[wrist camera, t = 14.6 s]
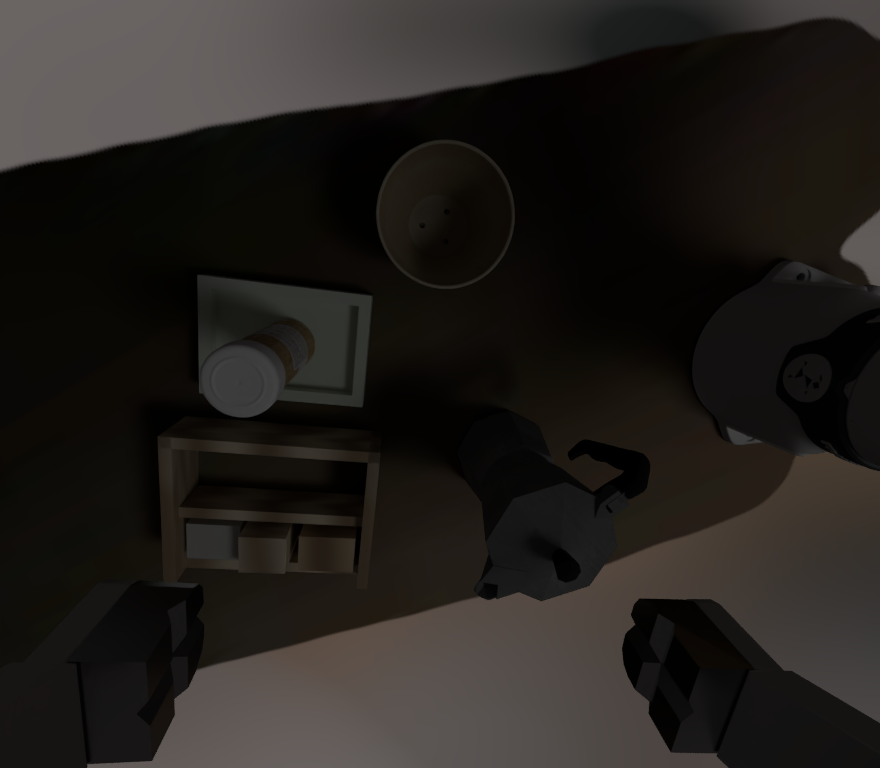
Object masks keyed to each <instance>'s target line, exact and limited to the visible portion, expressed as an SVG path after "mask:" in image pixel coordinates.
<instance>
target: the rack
mask: <svg viewBox="0 0 880 768" xmlns="http://www.w3.org/2000/svg"><path fill="white" fill-rule="evenodd" d="M381 441H382V432H381V431H368V430H356V429H343V428H331V427H319V426H306V425H294V424H281V423H269V422H256V421H244V420H232V419H219V418H207V417H194V416H185V417H184V418H183V419H181V420H180V421H178V422H177V423H176V424H174V425H173V426H171V427H170V428H169V429H167V430H166V431H164V432H163V433H162V434H160V435H159V436H158V459H159V483H160V506H161V530H162V553H163V577H164V582H175V583H176V581H177V580H178V578H179V577H180V576H181V574H182V573H183V571H184V570H185V568H212V569H238V570H239V560H218V559H194V558H187V535H186V523H187V522H188V521H189V520H190V518H203V519H223V520H242V521H261V522H280V523H300V524H319V525H338V526H358V527H362V533H361V544H360V546H356V551H355V559H354V566H353V572H329V571H300V570H298V548H299V543H296V544H295V547H294V550H293V552H292V555H291V558H290V561H289V563H288V566H287V569H286V571H291V572H318V573H344V574H358V577H357V588H356V589H367V585H368V575H369V565H370V555H371V544H372V534H373V524H374V514H375V504H376V494H377V484H378V474H379V464H380V453H381ZM198 451H209V452H223V453H237V454H251V455H265V456H279V457H293V458H307V459H321V460H336V461H350V462H364V463H368V467H367V478H366V489H365V495H356V494H339V493H323V492H307V491H290V490H274V489H258V488H242V487H225V486H209V485H199V464H198Z"/></svg>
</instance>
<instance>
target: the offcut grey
mask: <svg viewBox="0 0 880 768" xmlns="http://www.w3.org/2000/svg"><path fill="white" fill-rule="evenodd" d="M247 522H248V521H242V520H223V519H203V518H190V520H189V521H188V522H187V523H186V535H187V558H194V559H218V560H239V555H238V537H239V535H240V534H241V532H242V530H243V528H244V527H245V525H246V523H247Z"/></svg>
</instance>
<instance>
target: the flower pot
mask: <svg viewBox="0 0 880 768" xmlns="http://www.w3.org/2000/svg"><path fill="white" fill-rule="evenodd" d="M445 210H447V212H446V213H445V212H444V211H445ZM514 221H515V207H514V200H513V196H512V192H511V189H510V186H509V184H508V181H507V179H506V177H505V176H504V174H503V172H502V171H501V169H500V168H499V167H498V165H497V164H496V163H495V162H494V161H493V160H492V159H491V158H490V157H489V156H488V155H486V154H485V153H484V152H482V151H481V150H479V149H478V148H476V147H474V146H472V145H469V144H467V143H464V142H460V141H455V140H435V141H430V142H426V143H423V144H421V145H419V146H416V147H414V148H412V149H411V150H409V151H408V152H406V153H405V154H404V155H403V156H401V157H400V158H399V159H398V160H397V161H396V162H395V163H394V164H393V166H392V167H391V168H390V170H389V171H388V173H387V174H386V176H385V178H384V180H383V182H382V185H381V188H380V191H379V194H378V199H377V205H376V223H377V229H378V233H379V237H380V240H381V243H382V245H383V247H384V249H385V251H386V253H387V255H388V256H389V258H390V259H391V261H392V262H393V263H394V264H395V266H396V267H397V268H398V269H399V270H400V271H401V272H402V273H404V274H405V275H406V276H408V277H409V278H411V279H412V280H414V281H416V282H418V283H420V284H422V285H425V286H428V287H433V288H439V289H453V288H459V287H463V286H467V285H469V284H472V283H474V282H476V281H478V280H480V279H481V278H483V277H484V276H486V275H487V274H488V273H489V272H490V271H491V270H492V269H494V268H495V267H496V265H497V264H498V263H499V262H500V260H501V259H502V257H503V256H504V254H505V252H506V250H507V248H508V246H509V243H510V241H511V238H512V234H513V229H514ZM421 226H424V228H421ZM446 239H447V240H448V243H447V242H446Z"/></svg>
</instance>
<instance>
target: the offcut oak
mask: <svg viewBox="0 0 880 768" xmlns="http://www.w3.org/2000/svg"><path fill="white" fill-rule="evenodd" d="M357 535H358V526H338V525H319V524H303V527H302V529H301V532H300V535H299V548H298V570H300V571H329V572H353V566H354V559H355V551H356V544H357Z"/></svg>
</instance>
